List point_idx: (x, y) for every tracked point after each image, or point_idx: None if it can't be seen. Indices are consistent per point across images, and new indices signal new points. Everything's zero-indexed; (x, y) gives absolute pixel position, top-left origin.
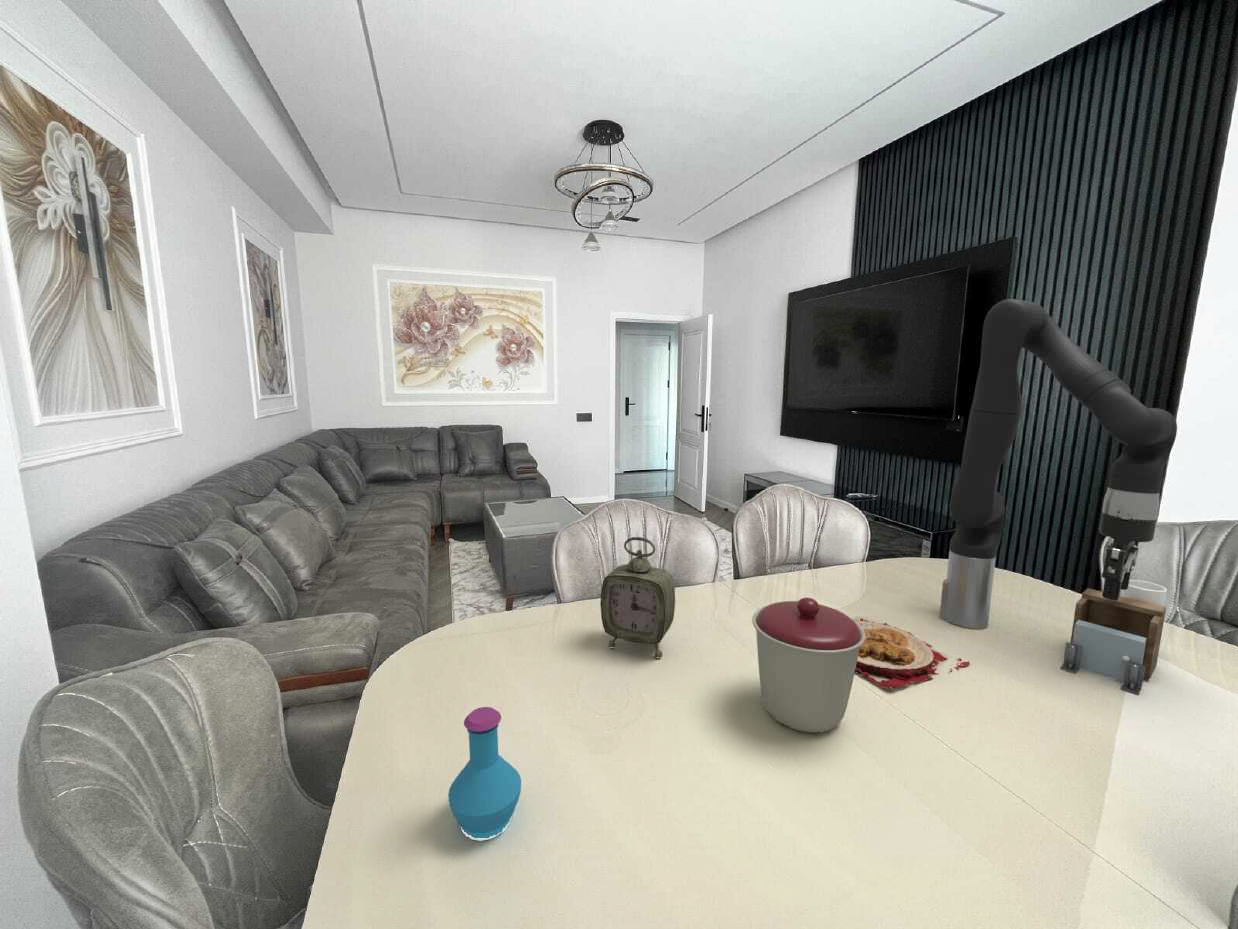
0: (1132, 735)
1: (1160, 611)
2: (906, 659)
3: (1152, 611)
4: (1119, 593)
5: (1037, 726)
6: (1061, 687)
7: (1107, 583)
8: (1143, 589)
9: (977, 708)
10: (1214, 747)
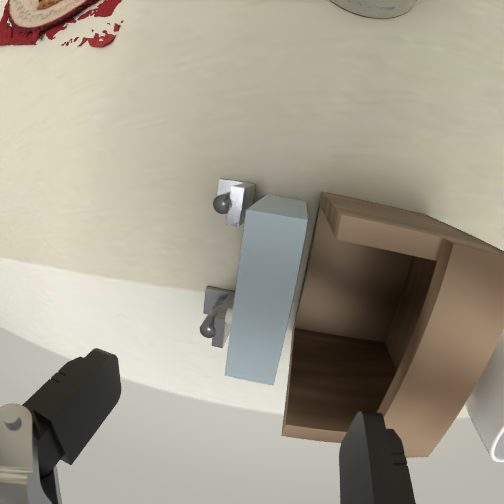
0: (64, 285)
1: None
2: (42, 2)
3: None
4: (100, 419)
5: (10, 184)
6: (129, 191)
7: (31, 400)
8: (499, 432)
9: (5, 118)
10: None
